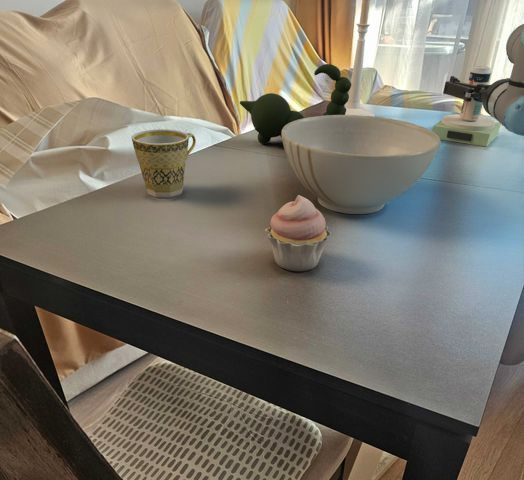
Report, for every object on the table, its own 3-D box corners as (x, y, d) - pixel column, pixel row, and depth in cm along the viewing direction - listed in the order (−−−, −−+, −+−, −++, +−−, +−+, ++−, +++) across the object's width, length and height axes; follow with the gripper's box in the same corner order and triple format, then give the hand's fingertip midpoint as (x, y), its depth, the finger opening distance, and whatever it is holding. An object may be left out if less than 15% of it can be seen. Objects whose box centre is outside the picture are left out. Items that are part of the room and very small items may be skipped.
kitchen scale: (497, 134, 135) (502, 118, 133) (486, 147, 125) (490, 130, 123) (445, 126, 141) (448, 111, 138) (430, 138, 131) (433, 121, 128)
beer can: (462, 116, 133) (475, 65, 126) (480, 119, 131) (494, 67, 124) (456, 120, 130) (469, 67, 123) (475, 123, 128) (489, 69, 121)
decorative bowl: (256, 215, 87) (257, 142, 80) (304, 170, 107) (308, 109, 100) (413, 243, 80) (430, 165, 72) (433, 189, 100) (448, 124, 92)
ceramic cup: (161, 205, 90) (155, 147, 84) (127, 191, 95) (120, 135, 89) (214, 188, 98) (212, 133, 92) (180, 175, 103) (177, 123, 97)
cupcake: (267, 246, 78) (269, 181, 72) (327, 250, 77) (335, 185, 71) (260, 275, 70) (262, 205, 64) (327, 280, 70) (335, 210, 64)
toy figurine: (338, 151, 125) (241, 134, 128) (355, 65, 114) (248, 47, 116) (335, 162, 118) (232, 143, 120) (353, 71, 106) (238, 53, 109)
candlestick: (322, 117, 146) (333, -10, 128) (342, 109, 155) (355, -11, 137) (362, 124, 141) (379, -8, 123) (381, 116, 149) (400, -8, 131)
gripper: (442, 117, 112) (424, 97, 128) (558, 121, 111) (524, 101, 127) (451, 79, 107) (431, 64, 124) (571, 83, 106) (534, 67, 123)
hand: (478, 83), depth 126 cm, fingers open, 13 cm apart
